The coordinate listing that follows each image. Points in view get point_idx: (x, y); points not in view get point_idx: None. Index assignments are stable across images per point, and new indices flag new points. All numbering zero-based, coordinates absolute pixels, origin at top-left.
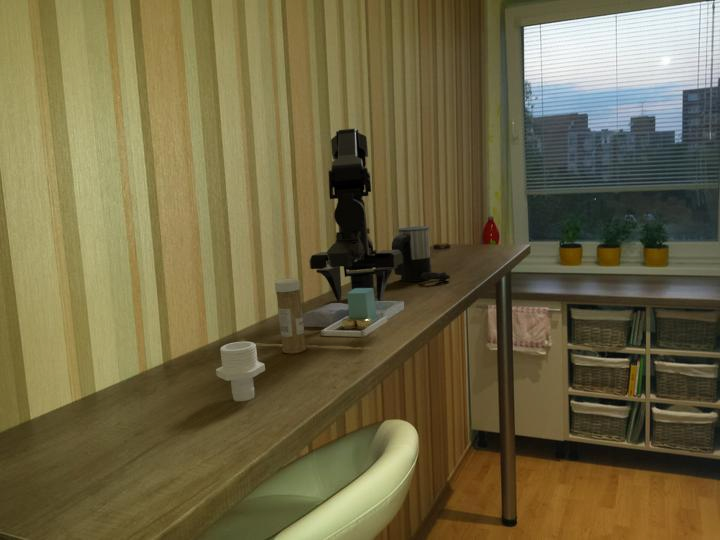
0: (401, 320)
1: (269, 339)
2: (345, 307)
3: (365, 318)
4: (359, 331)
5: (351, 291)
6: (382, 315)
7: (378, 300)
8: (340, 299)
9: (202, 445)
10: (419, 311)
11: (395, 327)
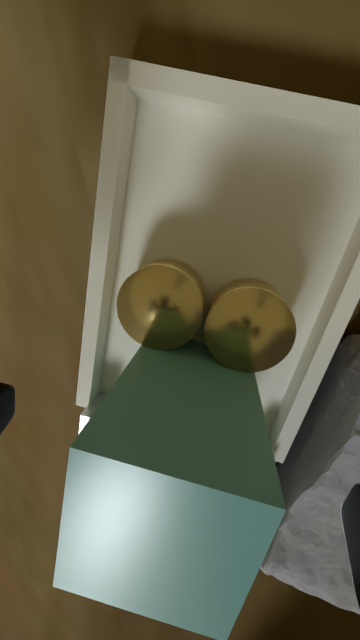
0: (46, 417)
1: None
2: (302, 532)
3: (152, 332)
4: (139, 73)
5: (241, 555)
6: (93, 411)
7: (3, 383)
8: (345, 509)
9: None
10: (23, 516)
11: (34, 311)
